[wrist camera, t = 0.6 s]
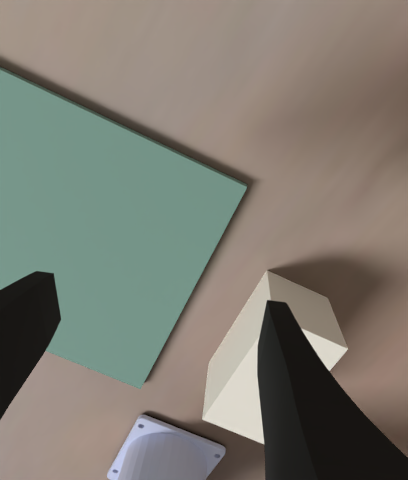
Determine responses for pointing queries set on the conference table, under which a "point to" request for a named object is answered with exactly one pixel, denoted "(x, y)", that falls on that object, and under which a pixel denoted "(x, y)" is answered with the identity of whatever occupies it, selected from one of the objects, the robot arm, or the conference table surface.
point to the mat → (104, 225)
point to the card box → (246, 348)
